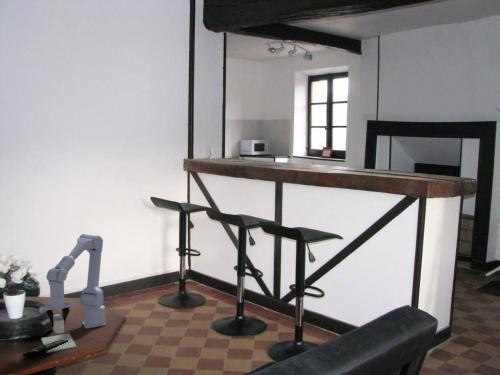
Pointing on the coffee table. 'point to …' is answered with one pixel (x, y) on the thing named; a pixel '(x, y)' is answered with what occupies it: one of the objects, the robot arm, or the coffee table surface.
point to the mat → (56, 338)
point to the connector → (58, 323)
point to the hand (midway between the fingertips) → (58, 325)
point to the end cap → (41, 326)
